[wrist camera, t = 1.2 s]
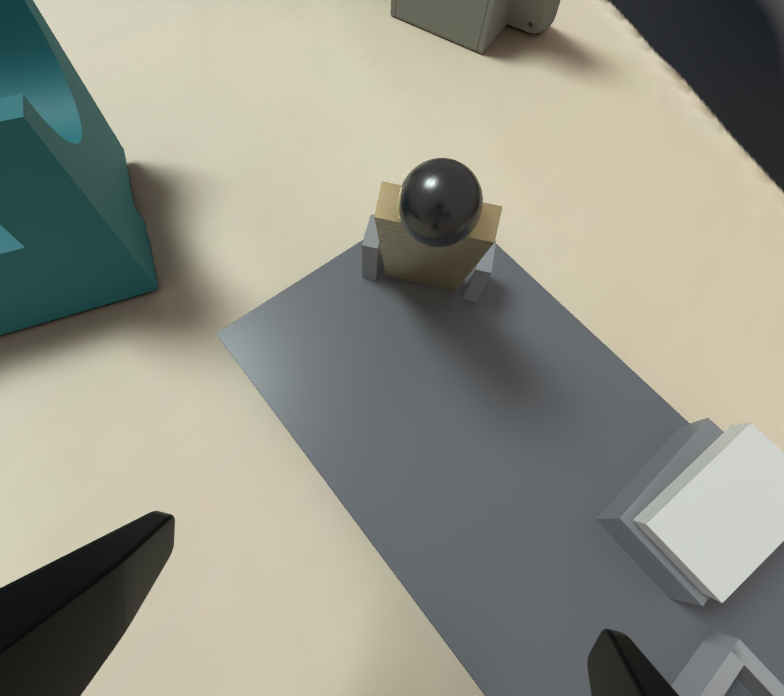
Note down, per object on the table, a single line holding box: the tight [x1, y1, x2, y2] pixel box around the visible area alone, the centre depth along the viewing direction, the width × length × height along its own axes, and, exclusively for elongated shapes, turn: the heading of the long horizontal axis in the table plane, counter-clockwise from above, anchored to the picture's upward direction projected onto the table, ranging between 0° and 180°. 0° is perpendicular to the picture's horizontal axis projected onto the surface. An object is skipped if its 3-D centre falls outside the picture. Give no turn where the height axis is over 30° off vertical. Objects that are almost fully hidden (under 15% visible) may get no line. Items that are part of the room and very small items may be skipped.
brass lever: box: [374, 158, 502, 291], centre depth 18 cm, size 3×4×12 cm, turn 78°
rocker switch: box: [633, 423, 784, 603], centre depth 17 cm, size 6×4×1 cm, turn 130°
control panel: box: [216, 215, 784, 696], centre depth 19 cm, size 16×33×4 cm, turn 40°
